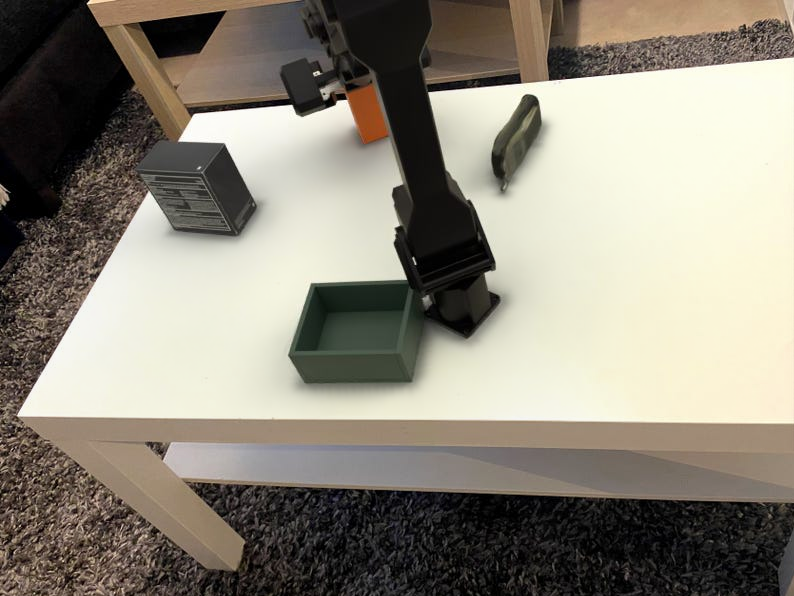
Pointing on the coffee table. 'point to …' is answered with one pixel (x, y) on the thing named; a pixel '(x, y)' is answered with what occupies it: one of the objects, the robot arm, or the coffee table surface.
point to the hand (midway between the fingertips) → (358, 87)
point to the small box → (197, 186)
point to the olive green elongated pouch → (516, 138)
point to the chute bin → (358, 332)
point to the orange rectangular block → (367, 113)
